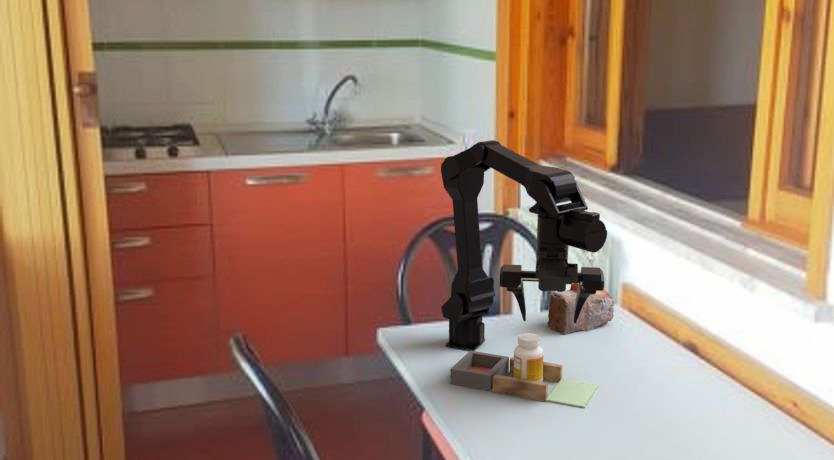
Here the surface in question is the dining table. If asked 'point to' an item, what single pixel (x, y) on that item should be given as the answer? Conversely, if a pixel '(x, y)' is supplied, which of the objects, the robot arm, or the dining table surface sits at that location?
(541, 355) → the supplement bottle
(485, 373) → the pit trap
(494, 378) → the walnut trough
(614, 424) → the dining table surface
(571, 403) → the pad
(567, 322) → the food item
